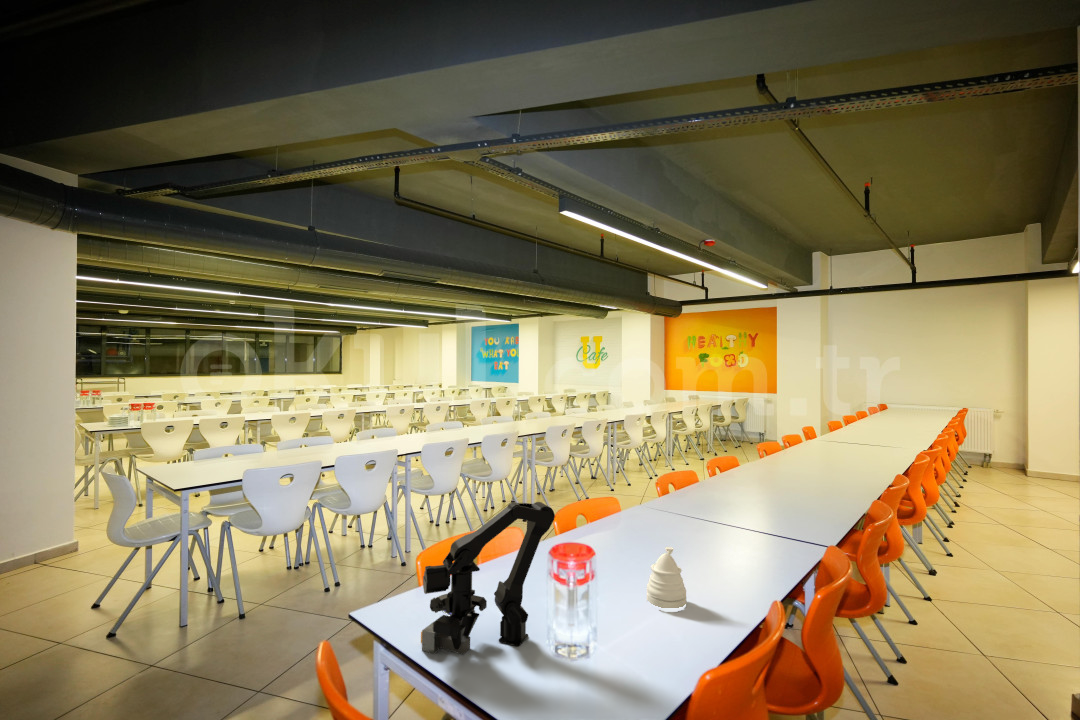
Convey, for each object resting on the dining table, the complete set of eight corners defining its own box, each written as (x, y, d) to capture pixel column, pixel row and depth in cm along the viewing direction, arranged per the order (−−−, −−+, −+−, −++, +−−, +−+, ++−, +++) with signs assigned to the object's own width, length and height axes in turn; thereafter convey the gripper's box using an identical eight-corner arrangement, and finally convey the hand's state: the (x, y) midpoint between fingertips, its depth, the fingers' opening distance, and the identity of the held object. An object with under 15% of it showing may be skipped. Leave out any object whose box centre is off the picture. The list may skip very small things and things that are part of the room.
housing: (454, 636, 144) (455, 617, 144) (434, 653, 135) (434, 633, 135) (443, 633, 146) (443, 614, 146) (421, 650, 136) (422, 630, 137)
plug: (470, 647, 138) (470, 636, 138) (463, 654, 135) (463, 642, 135) (428, 637, 143) (428, 626, 144) (420, 642, 140) (421, 631, 140)
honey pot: (660, 592, 176) (659, 540, 177) (693, 604, 167) (693, 549, 167) (639, 603, 167) (639, 549, 168) (673, 616, 158) (673, 559, 158)
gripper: (455, 571, 150) (454, 624, 149) (416, 595, 133) (415, 655, 132) (487, 577, 145) (487, 632, 145) (452, 603, 128) (450, 665, 127)
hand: (460, 645), depth 137 cm, fingers closed on plug, 3 cm apart
